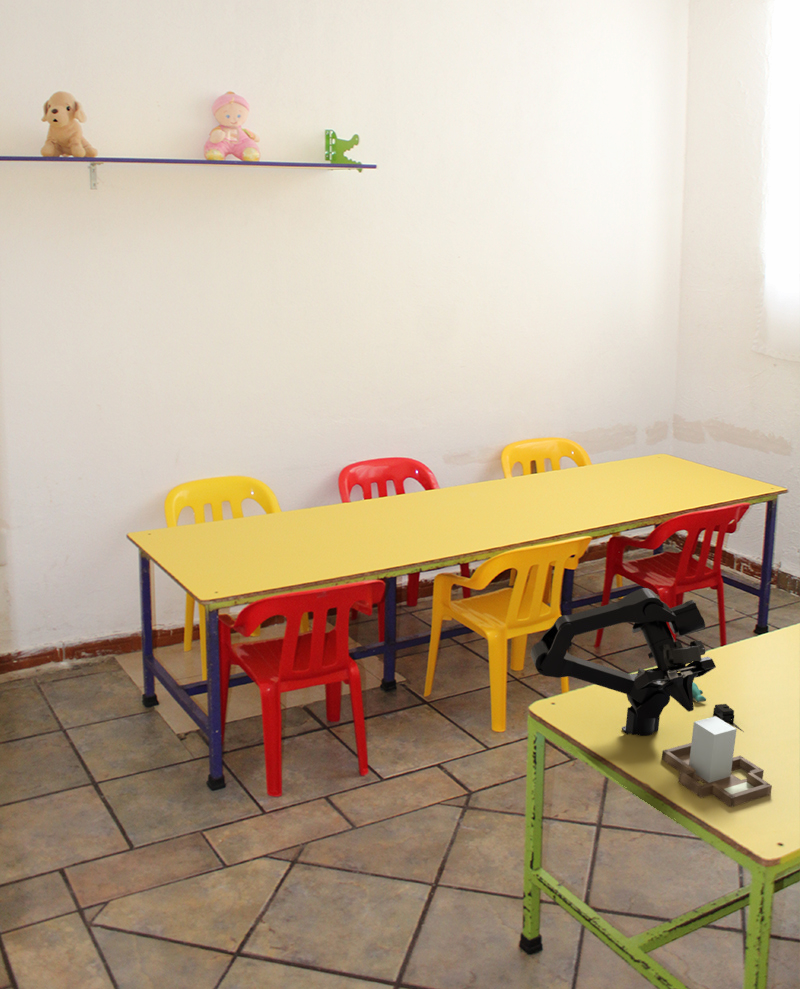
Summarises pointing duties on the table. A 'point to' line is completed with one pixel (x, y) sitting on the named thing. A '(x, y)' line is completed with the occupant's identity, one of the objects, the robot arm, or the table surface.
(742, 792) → the brown compartment tray
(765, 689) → the table surface
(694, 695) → the whale figurine
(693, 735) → the block
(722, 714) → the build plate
